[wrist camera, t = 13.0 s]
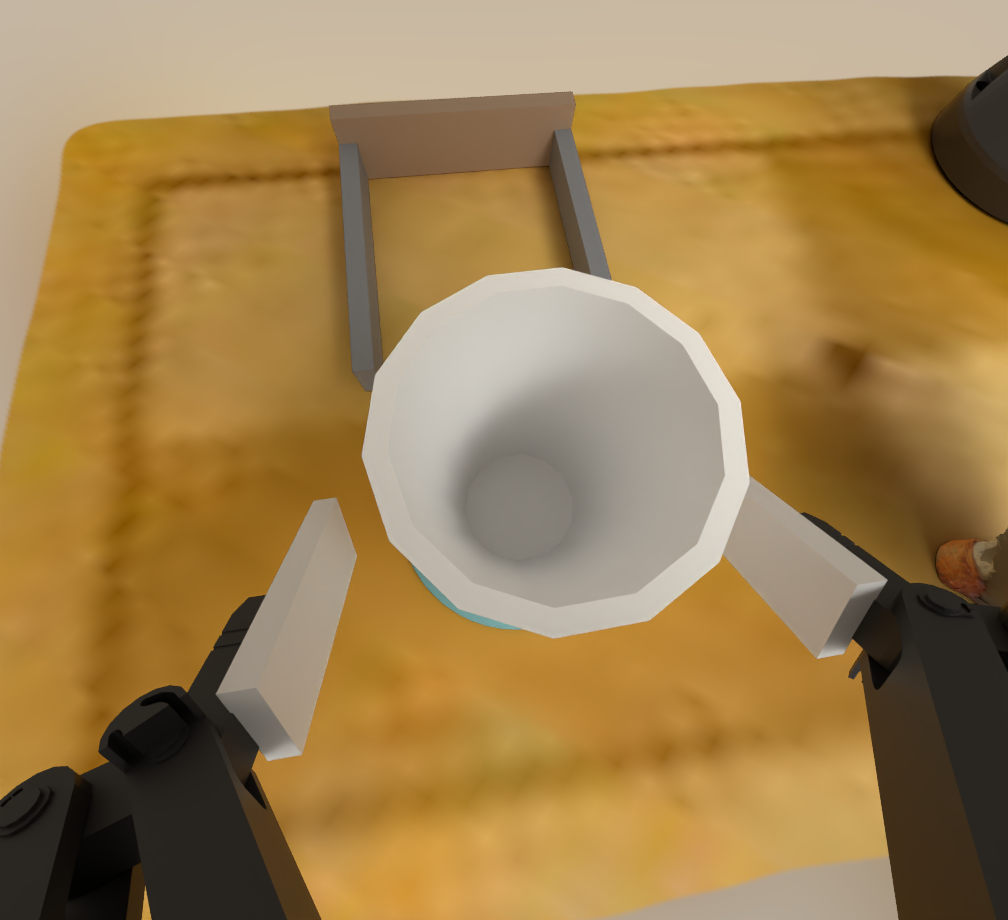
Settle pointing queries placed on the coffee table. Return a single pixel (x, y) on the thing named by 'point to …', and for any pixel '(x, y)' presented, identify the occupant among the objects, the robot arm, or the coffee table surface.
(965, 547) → the grey rock
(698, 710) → the coffee table surface
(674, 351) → the foam cup
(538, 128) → the cup lane
